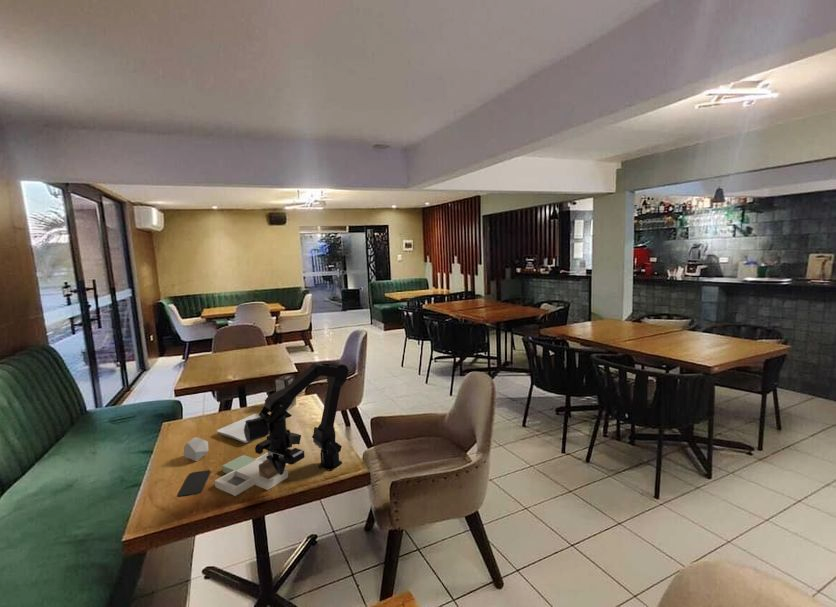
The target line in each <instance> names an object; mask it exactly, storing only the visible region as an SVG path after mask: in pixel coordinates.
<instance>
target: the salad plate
mask: <svg viewBox="0 0 836 607" xmlns="http://www.w3.org/2000/svg"><path fill="white" fill-rule="evenodd" d="M259 417H260V416H259V413H254V414H251V415H249V416H246V417H244V418H243V419H239V420H238V421H235V422H233V423H230V424H228V425H226V426H223V427H221V428H217V429H216V433H218V435H219V434H220V435H221V436H224V437H228V438H230V439H234V440H237V441H239V442H241V443H245V444H246V443H249V442H248V441H247V440H246V438H245V434H244V427H245V424H246V421H247V420H252V419H256V418H259ZM268 434H269V432H268Z"/></svg>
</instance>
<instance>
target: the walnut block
mask: <svg viewBox="0 0 836 607" xmlns="http://www.w3.org/2000/svg"><path fill="white" fill-rule="evenodd" d="M277 474H279V473H278V472H277V470H276V469H275V468H274V466H273V465H272V463H271V462H270V461H269V460H267V461H265V462H263V463H261V464H260V465H259V476H262V477H264V478H267V479H270V478H272V477H274V476H275V475H277Z"/></svg>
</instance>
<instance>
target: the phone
mask: <svg viewBox="0 0 836 607" xmlns="http://www.w3.org/2000/svg"><path fill="white" fill-rule="evenodd" d="M210 474H211V470H210V469H206V470H201V471H193V472H190V473H189V474H188V475H187V477H186V479H185V480H184V483H183V484H182V486H181V487H180V490H179V492H178V493H177V497H179V498H182V497H189V496H195V495H199V494H201V493H202V491H203V489H204V488H205V486H206V483H207V480H208V479H209V477H210Z"/></svg>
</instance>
